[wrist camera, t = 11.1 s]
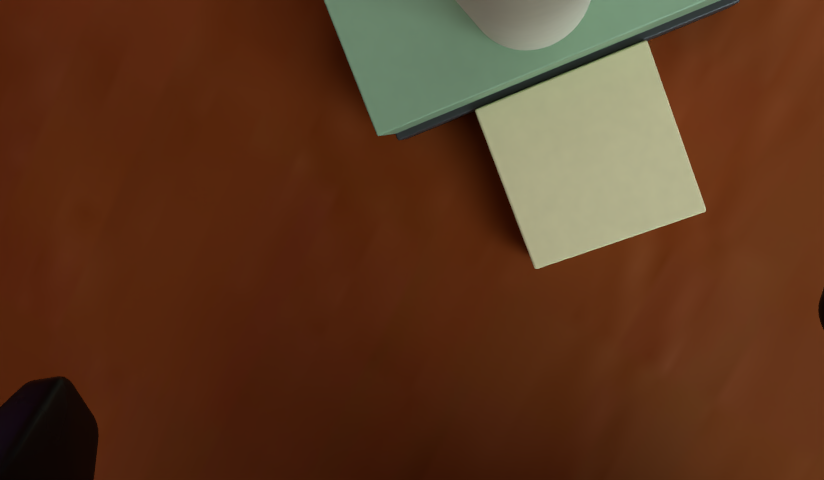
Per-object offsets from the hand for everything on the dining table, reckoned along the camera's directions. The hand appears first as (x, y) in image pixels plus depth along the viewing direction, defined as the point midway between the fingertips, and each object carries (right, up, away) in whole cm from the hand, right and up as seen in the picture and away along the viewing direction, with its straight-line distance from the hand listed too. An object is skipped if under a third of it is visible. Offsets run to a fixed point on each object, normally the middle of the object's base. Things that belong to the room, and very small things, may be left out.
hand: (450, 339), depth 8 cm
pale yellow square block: (+4, +3, +11) cm, 12 cm away
